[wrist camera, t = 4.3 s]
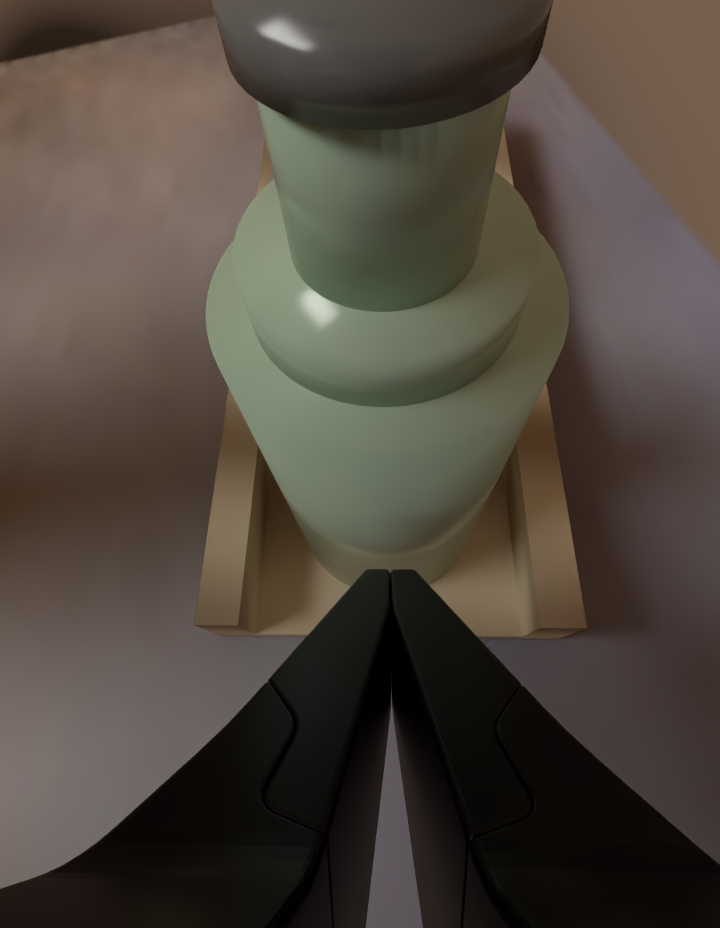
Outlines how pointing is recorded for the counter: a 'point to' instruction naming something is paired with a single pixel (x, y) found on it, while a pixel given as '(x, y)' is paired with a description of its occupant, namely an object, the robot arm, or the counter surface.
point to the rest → (461, 587)
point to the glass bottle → (385, 270)
